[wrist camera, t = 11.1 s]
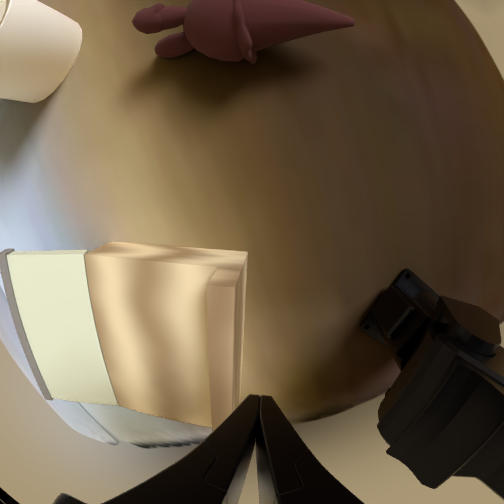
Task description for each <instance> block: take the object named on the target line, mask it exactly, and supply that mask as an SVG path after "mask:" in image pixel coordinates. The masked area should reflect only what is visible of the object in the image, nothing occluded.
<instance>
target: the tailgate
mask: <svg viewBox="0 0 504 504" xmlns="http://www.w3.org/2000/svg"><path fill="white" fill-rule="evenodd" d="M86 253H88V250H55V251H14V249H5V250H4V251H2V252H0V270H1V275H2V279H3V284H4V288H5V292H6V296H7V300H8V304H9V308H10V311H11V315H12V318H13V321H14V324H15V328H16V331H17V334H18V337H19V339H20V342H21V345H22V348H23V350H24V353H25V355H26V358H27V360H28V363H29V365H30V368H31V370H32V372H33V375H34V377H35V379H36V381H37V383H38V385H39V388H40V390H41V392H42V394H43V396H44V398H45V399H47V400H53V398H55V399H61V400H68V401H76V402H85V403H95V404H107V405H118V401H117V398H116V395H115V393H114V389H113V386H112V383H111V380H110V377H109V374H108V370H107V367H106V363H105V360H104V356H103V352H102V348H101V345H100V340H99V336H98V332H97V328H96V323H95V318H94V313H93V308H92V303H91V297H90V292H89V285H88V279H87V272H86V264H85V255H84V254H86Z"/></svg>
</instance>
